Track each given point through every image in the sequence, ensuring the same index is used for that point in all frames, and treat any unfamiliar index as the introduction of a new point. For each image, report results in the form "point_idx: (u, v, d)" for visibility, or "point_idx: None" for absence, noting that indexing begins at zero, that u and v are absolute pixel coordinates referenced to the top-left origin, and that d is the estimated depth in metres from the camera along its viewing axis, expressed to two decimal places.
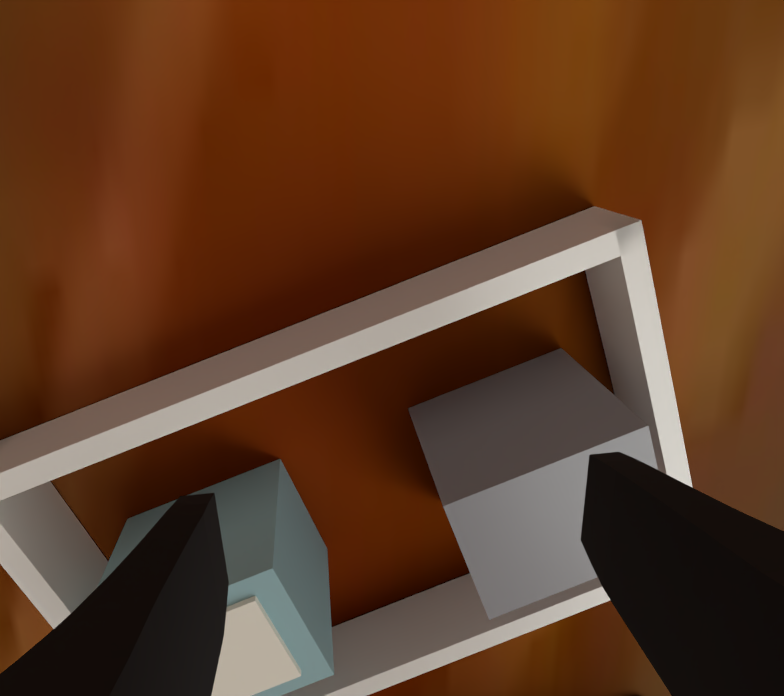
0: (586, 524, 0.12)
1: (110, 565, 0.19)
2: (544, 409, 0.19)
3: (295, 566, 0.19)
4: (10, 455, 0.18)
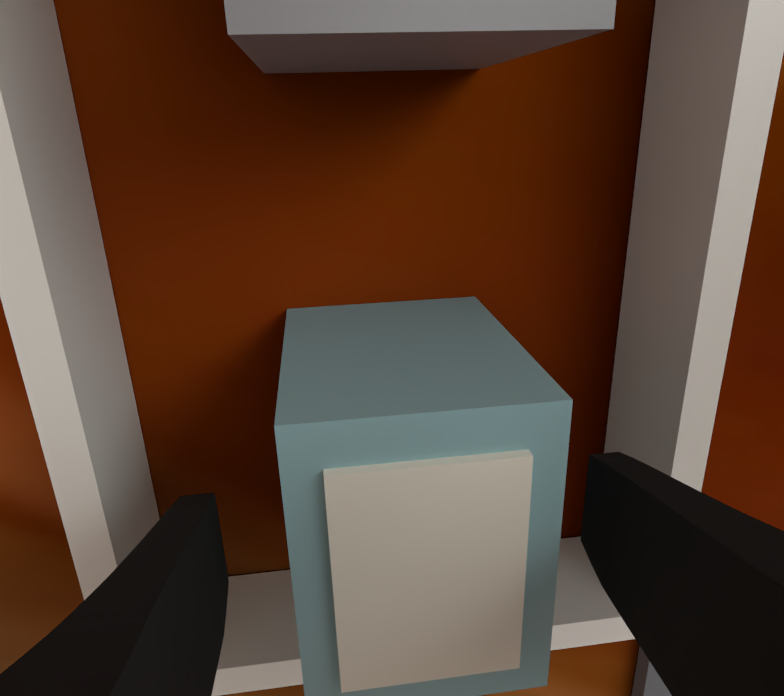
0: (586, 524, 0.12)
1: None
2: None
3: (369, 371, 0.10)
4: None
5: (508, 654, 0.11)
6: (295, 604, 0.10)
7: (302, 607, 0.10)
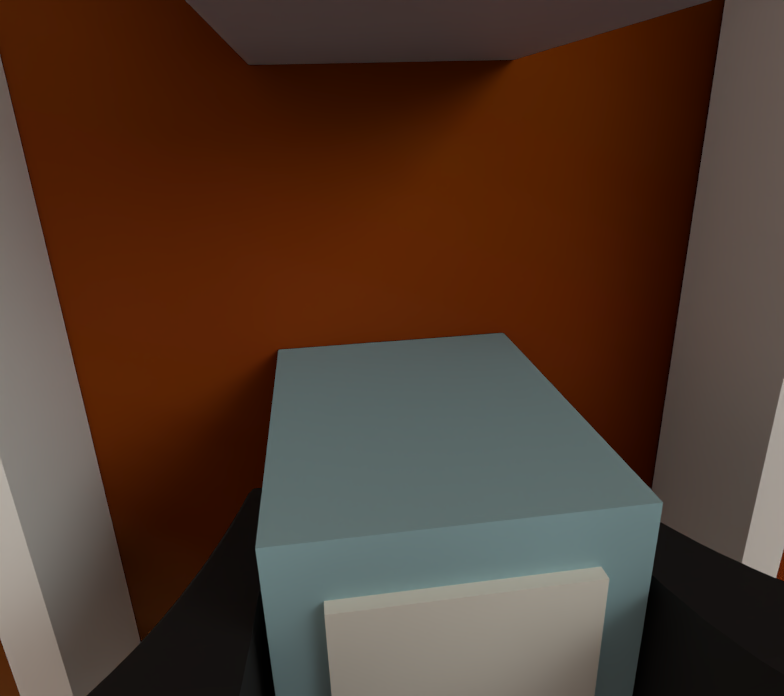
0: None
1: None
2: None
3: (383, 451, 0.08)
4: None
5: None
6: None
7: None
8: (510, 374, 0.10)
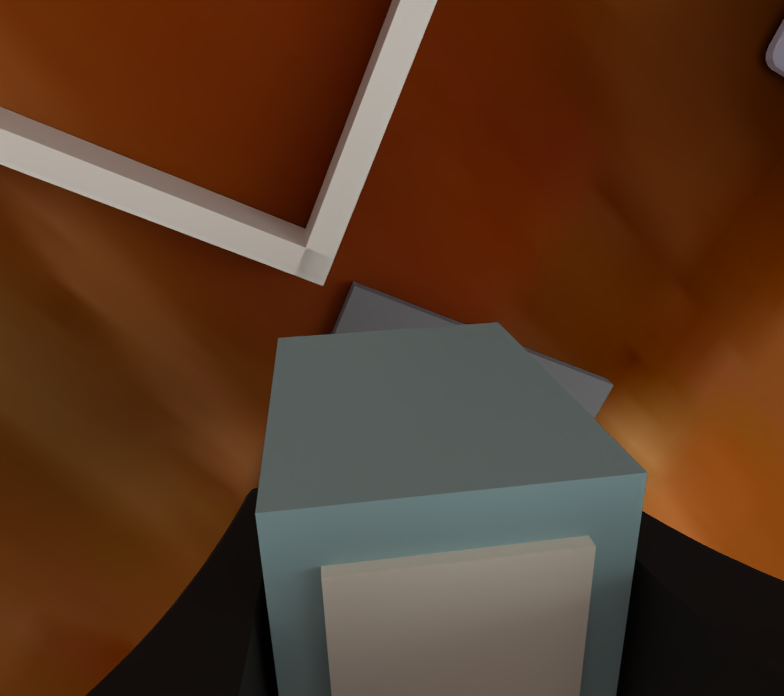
0: None
1: None
2: None
3: (379, 428, 0.08)
4: None
5: None
6: None
7: None
8: (503, 359, 0.10)
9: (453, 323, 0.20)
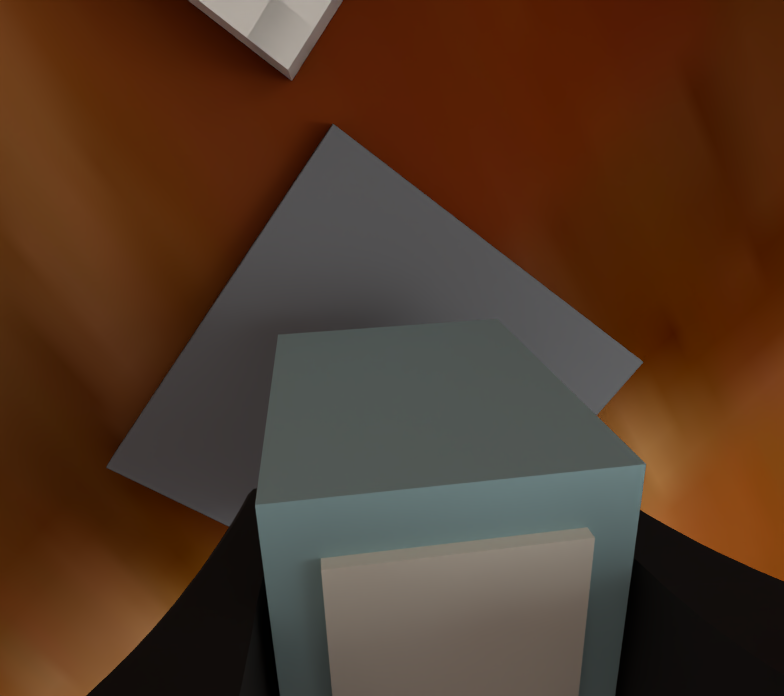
0: None
1: None
2: None
3: (378, 421, 0.08)
4: None
5: None
6: None
7: None
8: (503, 355, 0.10)
9: (458, 220, 0.14)
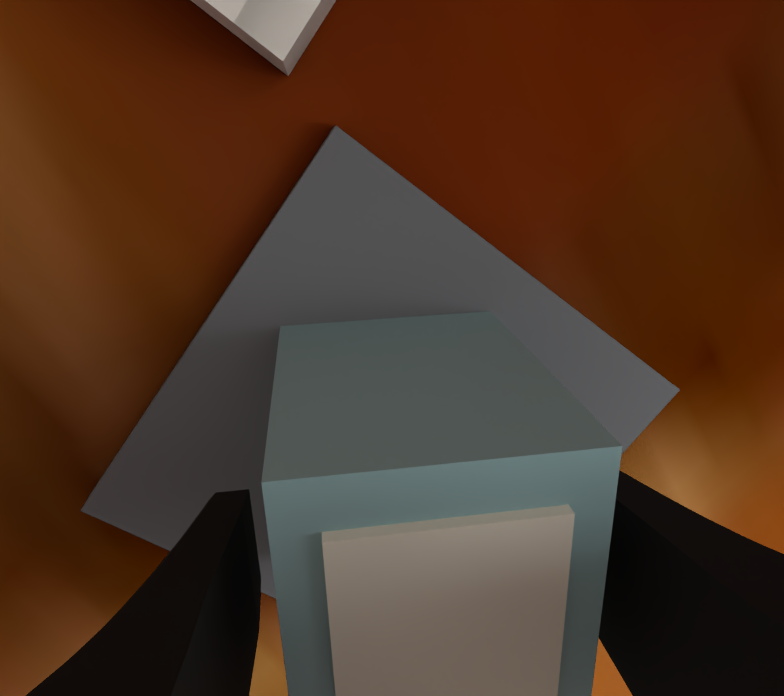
0: None
1: None
2: None
3: (375, 407, 0.09)
4: None
5: None
6: (288, 686, 0.08)
7: (297, 690, 0.08)
8: (494, 345, 0.11)
9: (476, 234, 0.12)
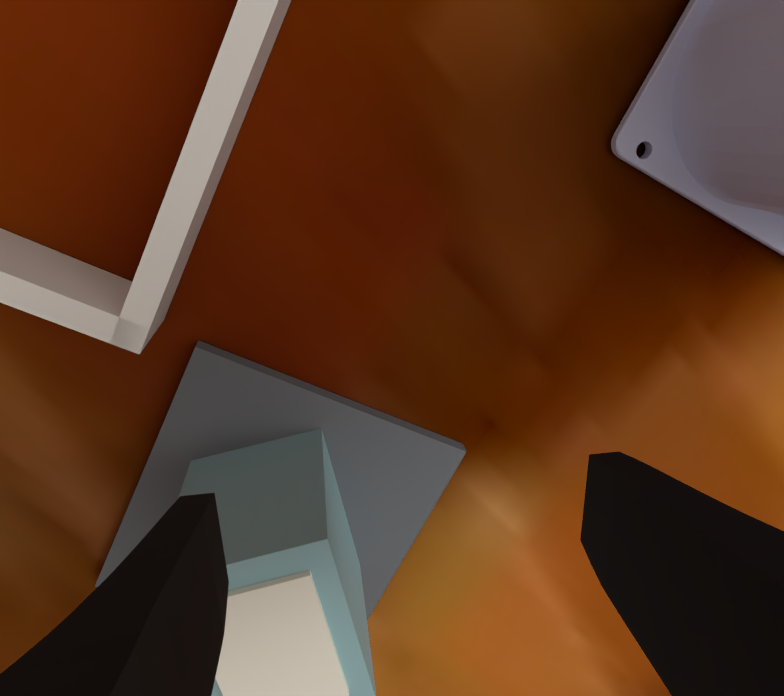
0: (586, 524, 0.12)
1: None
2: None
3: None
4: None
5: (338, 688, 0.16)
6: None
7: None
8: (306, 464, 0.18)
9: (299, 386, 0.20)
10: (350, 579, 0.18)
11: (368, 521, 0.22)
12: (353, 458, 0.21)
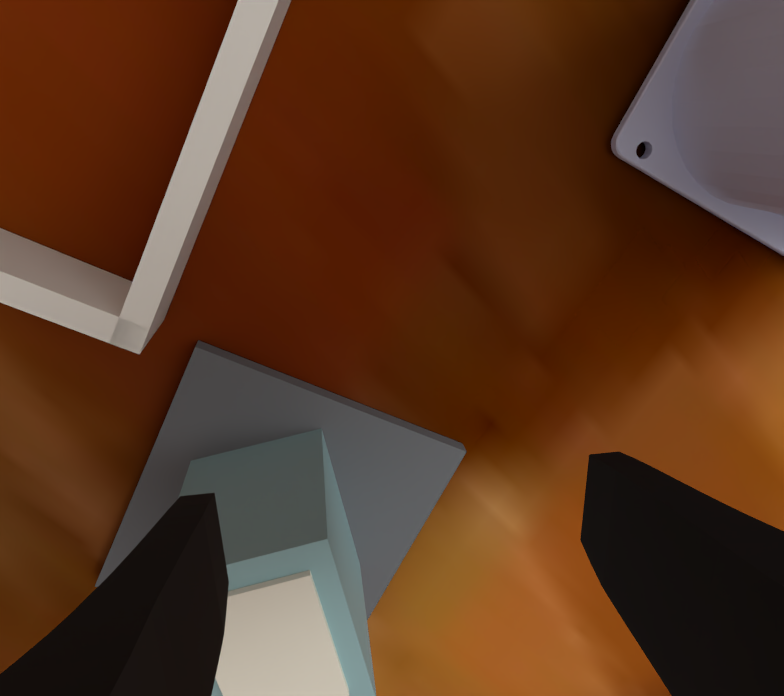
0: (586, 524, 0.12)
1: None
2: None
3: None
4: None
5: (338, 688, 0.16)
6: None
7: None
8: (306, 464, 0.18)
9: (299, 386, 0.20)
10: (350, 579, 0.18)
11: (368, 521, 0.22)
12: (353, 458, 0.21)
